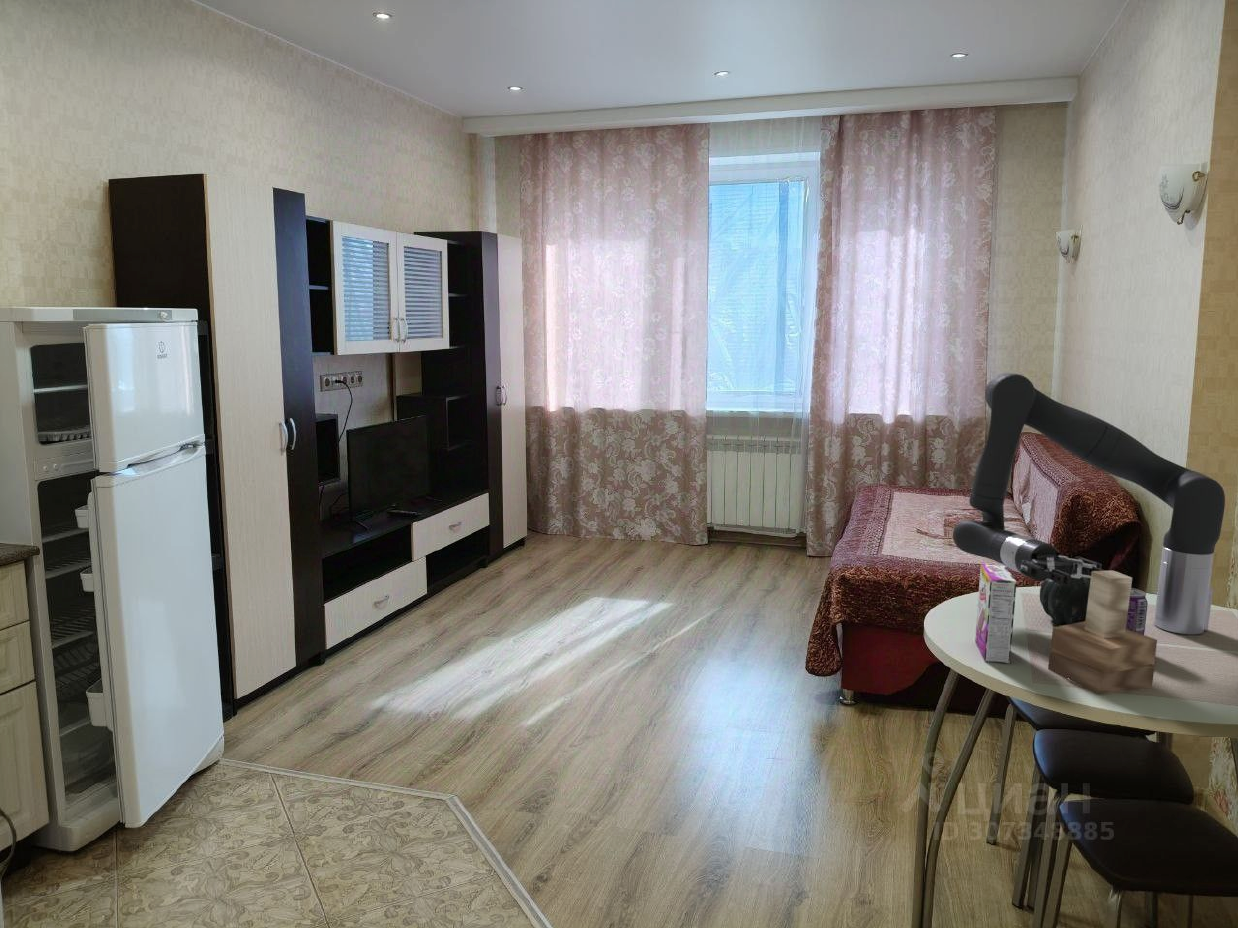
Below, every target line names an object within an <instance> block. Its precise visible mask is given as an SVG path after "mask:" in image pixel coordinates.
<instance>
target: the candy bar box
mask: <svg viewBox="0 0 1238 928" xmlns="http://www.w3.org/2000/svg"><path fill="white" fill-rule="evenodd" d="M1007 567H1008V566H1005V565H1003V564H989V563H983V564H980V569H979V571H980V573H979V583H978V584H979V585H978V596H977V597H978V598H977V615H976V626H975V638H974V639H975V640H974V642H975V644H976V646H977V648H978V650H979V652H980V654H981V656H982V659H983V661H984V662H986V663H995V664H996V663H997V664H1011V657H1012V656H1011V655H1012V654H1011V653H1012V643H1013V630H1014V620H1015V619H1014V617H1015V605H1016V594H1017V593H1016V591H1017V580H1016V579H1015V578H1014V576H1013V574H1012V573H1011V571H1010V570H1009V569H1008V568H1007Z"/></svg>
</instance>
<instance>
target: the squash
mask: <svg viewBox="0 0 1238 928" xmlns="http://www.w3.org/2000/svg"><path fill="white" fill-rule="evenodd" d="M1083 573H1084V572H1083ZM1073 574H1077V570H1075V567H1074V570H1073ZM1086 574H1087V573H1086ZM1090 581H1091V578H1087V577H1081V578H1079V579H1078V578H1072V577H1071V585H1070V586H1064V585H1062V584H1059V583H1057V582H1054V581H1051V582H1049V581H1047V580H1043V581H1042V583H1041V586H1040V589H1039V601H1040V603H1041V606H1042V609H1043V611H1044V612H1045V613H1046V614H1047V615H1048V616H1049V617H1050V618H1051V620H1052V621H1053V623H1055V624H1056V625H1058V626H1063V625H1068V624H1074V623H1079V622H1085V621H1086V613H1087V605H1088V597H1089V589H1090Z"/></svg>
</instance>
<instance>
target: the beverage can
mask: <svg viewBox="0 0 1238 928" xmlns="http://www.w3.org/2000/svg"><path fill="white" fill-rule="evenodd" d="M1146 596H1147V593H1146V591H1143V590H1141V589H1137V588H1133V587H1131V592H1130V599H1129V607H1128V614H1127V622H1126V629H1128V630H1131V631H1134V632H1136V633H1139V634H1142V635H1145V631H1146V621H1147V614H1148V613H1147V612H1148V605H1149V604H1148V599H1147V597H1146Z"/></svg>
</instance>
